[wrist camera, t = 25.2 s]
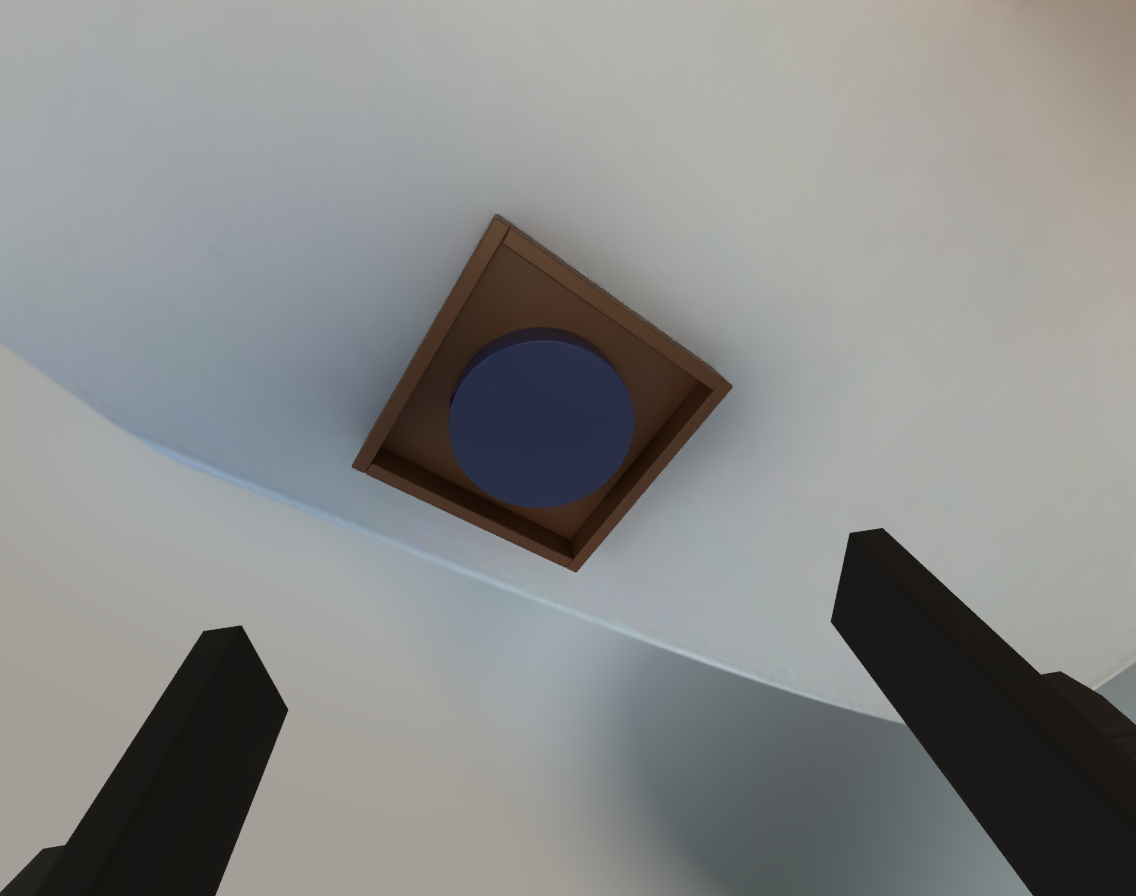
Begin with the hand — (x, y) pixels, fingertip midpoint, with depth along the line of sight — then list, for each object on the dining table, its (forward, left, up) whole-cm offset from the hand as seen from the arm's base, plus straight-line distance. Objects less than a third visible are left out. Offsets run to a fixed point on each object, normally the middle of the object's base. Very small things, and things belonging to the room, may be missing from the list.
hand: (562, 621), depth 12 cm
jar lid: (0, 0, -11) cm, 11 cm away
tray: (0, 0, -13) cm, 13 cm away
